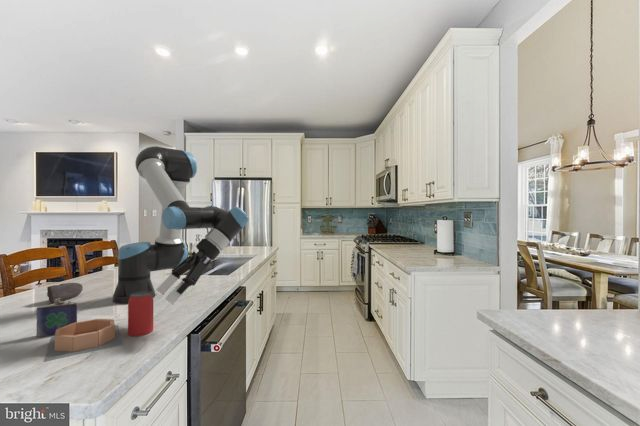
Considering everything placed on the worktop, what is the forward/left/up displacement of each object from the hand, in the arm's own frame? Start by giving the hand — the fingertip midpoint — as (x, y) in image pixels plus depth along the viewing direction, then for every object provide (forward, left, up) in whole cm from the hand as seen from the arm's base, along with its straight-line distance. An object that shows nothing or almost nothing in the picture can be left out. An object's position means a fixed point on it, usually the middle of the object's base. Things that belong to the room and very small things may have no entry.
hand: (163, 296), depth 94 cm
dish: (-3, -19, -10) cm, 22 cm away
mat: (-3, -19, -10) cm, 22 cm away
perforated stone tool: (-61, -26, -11) cm, 67 cm away
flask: (-15, -26, -10) cm, 32 cm away
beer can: (-1, -6, -10) cm, 12 cm away
